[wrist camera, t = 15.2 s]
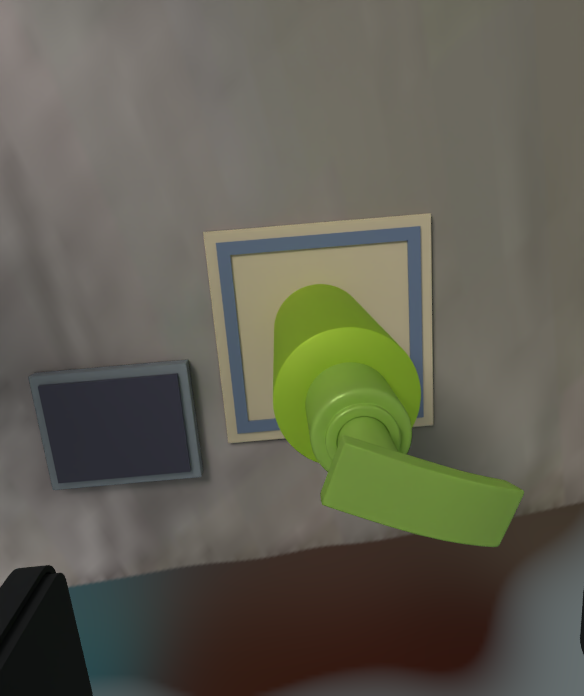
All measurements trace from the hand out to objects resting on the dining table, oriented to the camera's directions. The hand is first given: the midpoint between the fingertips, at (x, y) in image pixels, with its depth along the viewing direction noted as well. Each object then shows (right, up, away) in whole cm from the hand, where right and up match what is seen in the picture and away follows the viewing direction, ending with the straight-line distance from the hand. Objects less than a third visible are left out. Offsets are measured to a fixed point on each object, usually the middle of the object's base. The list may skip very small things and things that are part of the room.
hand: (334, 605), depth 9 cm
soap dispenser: (+1, +6, +24) cm, 25 cm away
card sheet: (+1, +6, +24) cm, 25 cm away
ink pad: (-12, -1, +25) cm, 28 cm away
